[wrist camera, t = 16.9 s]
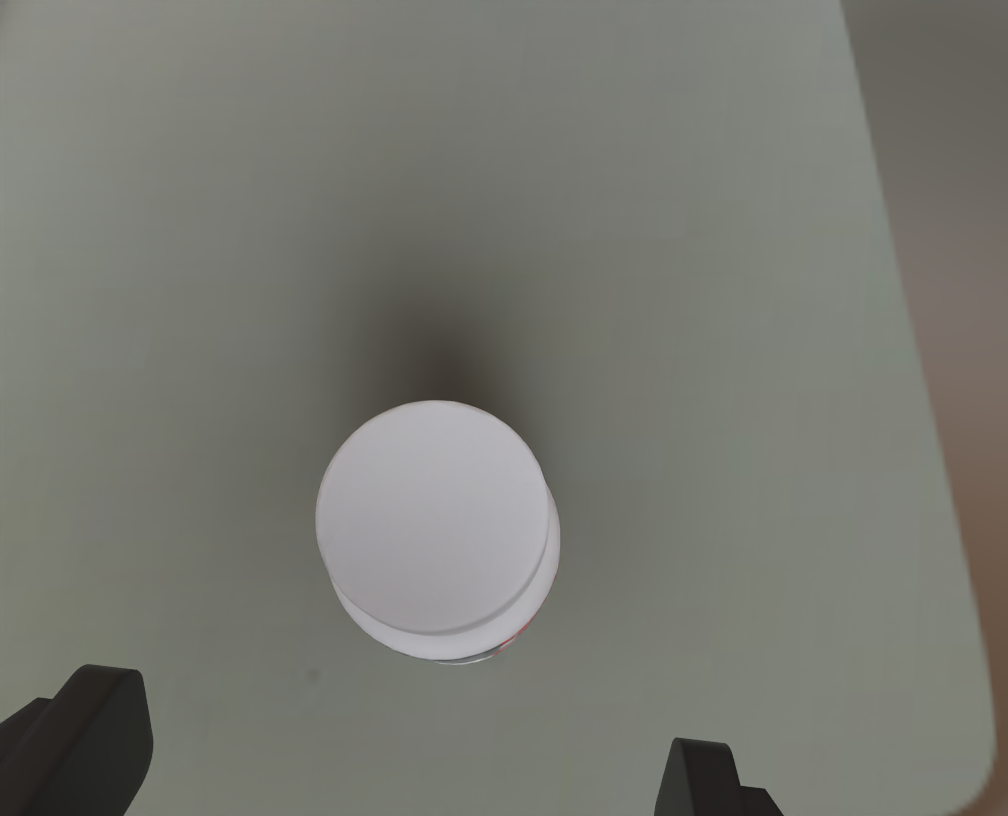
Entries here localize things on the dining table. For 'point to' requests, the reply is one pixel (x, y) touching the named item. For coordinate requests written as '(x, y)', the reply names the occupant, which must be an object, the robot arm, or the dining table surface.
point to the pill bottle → (438, 531)
